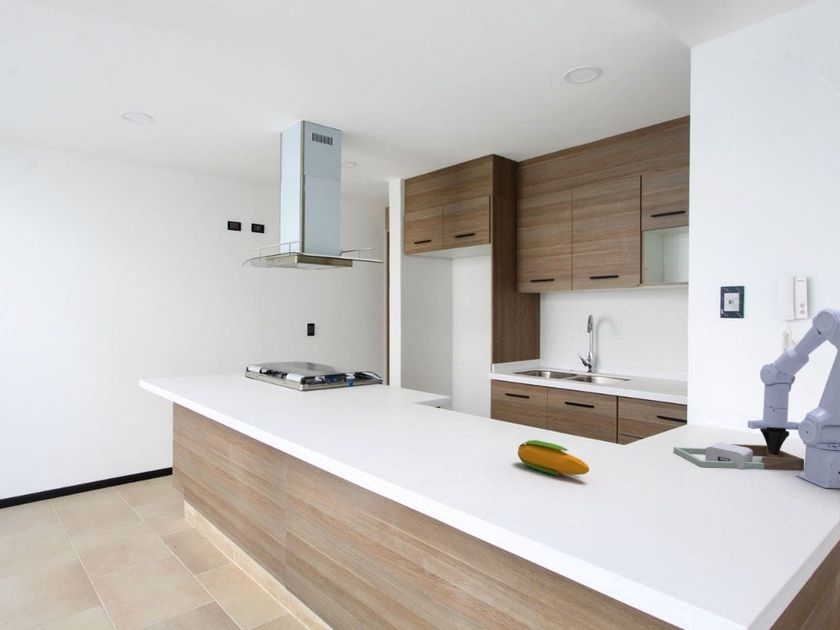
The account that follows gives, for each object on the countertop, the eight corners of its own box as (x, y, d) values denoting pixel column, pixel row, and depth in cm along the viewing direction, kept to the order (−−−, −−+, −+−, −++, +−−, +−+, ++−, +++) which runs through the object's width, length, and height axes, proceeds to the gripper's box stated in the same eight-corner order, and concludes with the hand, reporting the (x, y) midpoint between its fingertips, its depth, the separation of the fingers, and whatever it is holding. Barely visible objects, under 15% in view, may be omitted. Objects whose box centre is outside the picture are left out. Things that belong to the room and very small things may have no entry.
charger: (758, 461, 145) (742, 471, 135) (722, 454, 152) (705, 462, 142) (759, 445, 145) (743, 453, 135) (723, 438, 152) (706, 445, 142)
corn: (527, 432, 136) (597, 449, 122) (527, 459, 136) (597, 479, 122) (511, 438, 131) (583, 456, 116) (511, 467, 131) (582, 488, 117)
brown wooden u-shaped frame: (803, 470, 137) (804, 459, 137) (764, 469, 137) (764, 458, 136) (766, 455, 151) (767, 445, 151) (730, 454, 151) (731, 444, 150)
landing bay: (764, 469, 137) (764, 463, 137) (700, 467, 136) (701, 461, 136) (730, 454, 151) (731, 449, 150) (673, 452, 150) (673, 447, 150)
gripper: (789, 405, 148) (787, 451, 148) (741, 403, 147) (739, 449, 148) (809, 410, 141) (806, 458, 141) (758, 408, 140) (755, 456, 140)
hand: (773, 454), depth 144 cm, fingers closed
